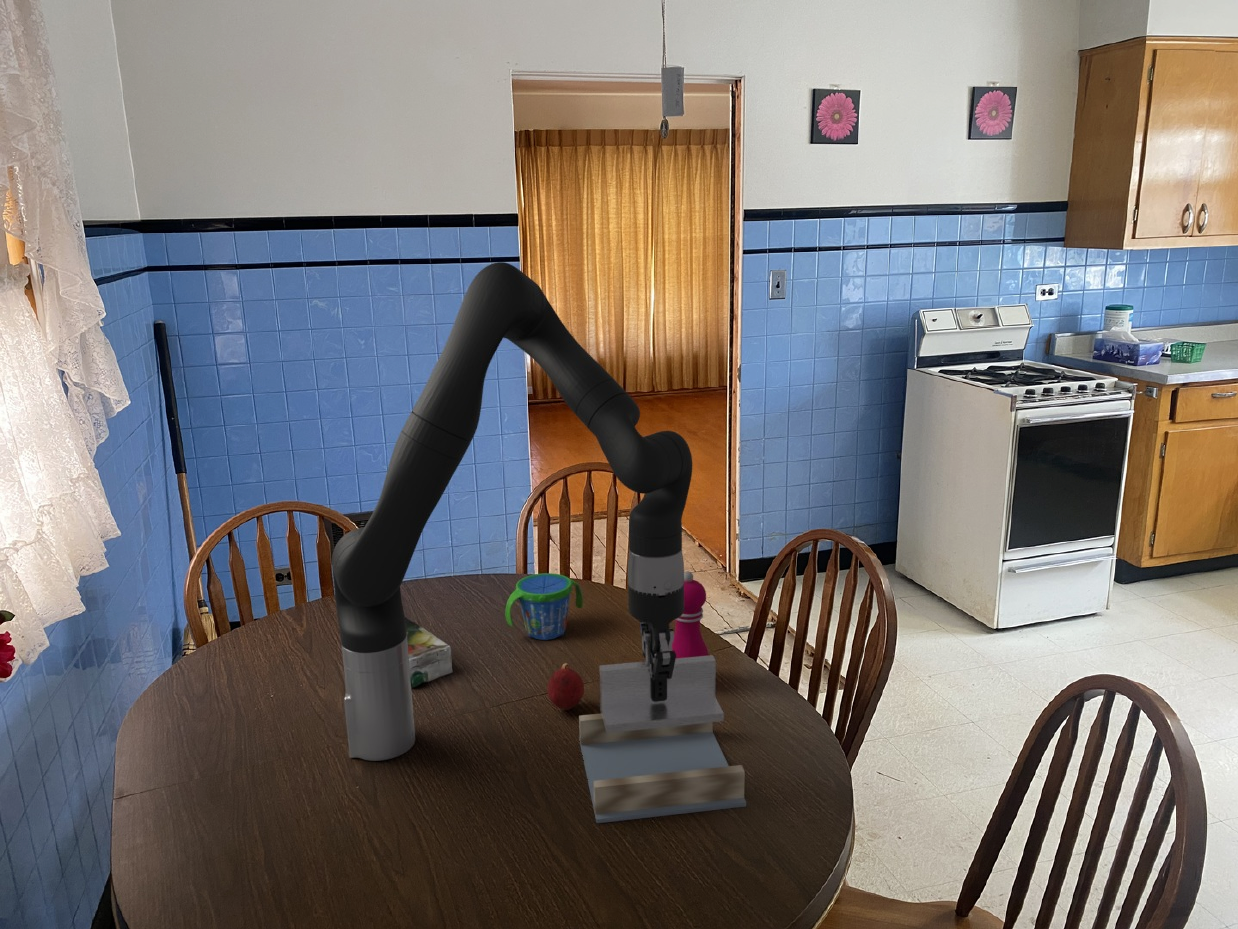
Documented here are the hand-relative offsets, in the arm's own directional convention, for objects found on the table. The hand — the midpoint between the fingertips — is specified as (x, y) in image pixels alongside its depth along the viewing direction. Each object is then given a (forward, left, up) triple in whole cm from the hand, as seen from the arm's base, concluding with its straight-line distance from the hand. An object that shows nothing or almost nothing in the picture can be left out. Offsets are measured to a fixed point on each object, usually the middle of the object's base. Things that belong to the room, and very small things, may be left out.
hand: (657, 696), depth 125 cm
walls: (0, -1, -11) cm, 11 cm away
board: (0, -1, -11) cm, 11 cm away
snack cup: (-12, +47, -12) cm, 50 cm away
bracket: (0, -2, -2) cm, 3 cm away
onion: (-11, +18, -12) cm, 25 cm away
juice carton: (-38, +40, -12) cm, 57 cm away
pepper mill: (+10, +23, -12) cm, 28 cm away
